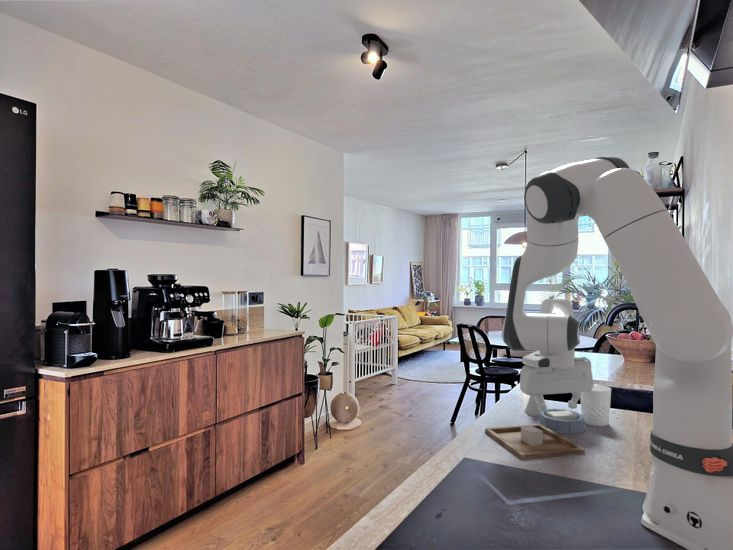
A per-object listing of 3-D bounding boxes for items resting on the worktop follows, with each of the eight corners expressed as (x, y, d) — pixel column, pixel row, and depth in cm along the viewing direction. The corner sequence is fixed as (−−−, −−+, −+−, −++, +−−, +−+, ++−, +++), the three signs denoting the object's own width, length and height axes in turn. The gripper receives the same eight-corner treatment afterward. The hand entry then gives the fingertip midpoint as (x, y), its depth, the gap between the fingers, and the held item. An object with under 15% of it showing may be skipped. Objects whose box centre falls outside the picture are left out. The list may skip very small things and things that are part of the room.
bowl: (593, 433, 121) (593, 419, 121) (555, 436, 119) (555, 422, 119) (566, 420, 132) (566, 407, 132) (532, 422, 130) (532, 410, 130)
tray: (584, 455, 106) (584, 449, 106) (521, 462, 103) (521, 454, 103) (540, 429, 124) (540, 423, 124) (485, 434, 121) (485, 428, 121)
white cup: (576, 417, 134) (576, 383, 134) (606, 419, 133) (606, 384, 133) (583, 426, 127) (583, 390, 126) (614, 428, 125) (615, 391, 125)
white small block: (576, 426, 124) (576, 414, 124) (566, 427, 123) (566, 415, 123) (567, 421, 128) (567, 410, 128) (557, 422, 127) (557, 411, 127)
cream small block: (565, 427, 123) (565, 415, 123) (554, 428, 123) (554, 416, 123) (557, 422, 127) (557, 411, 127) (546, 423, 127) (546, 411, 127)
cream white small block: (542, 444, 112) (542, 430, 112) (531, 445, 111) (531, 432, 111) (531, 438, 116) (531, 425, 116) (521, 440, 115) (521, 427, 115)
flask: (552, 419, 133) (551, 384, 133) (525, 417, 134) (525, 383, 134) (547, 411, 140) (547, 379, 140) (522, 410, 141) (522, 378, 141)
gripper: (583, 354, 130) (583, 403, 130) (516, 357, 126) (517, 408, 126) (598, 358, 124) (598, 410, 124) (529, 362, 120) (529, 415, 120)
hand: (557, 409), depth 125 cm, fingers open, 8 cm apart
